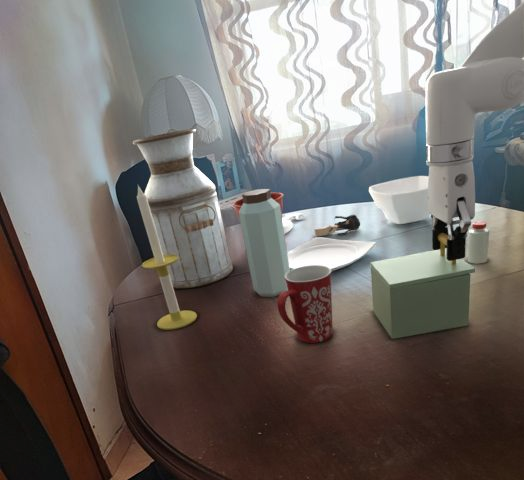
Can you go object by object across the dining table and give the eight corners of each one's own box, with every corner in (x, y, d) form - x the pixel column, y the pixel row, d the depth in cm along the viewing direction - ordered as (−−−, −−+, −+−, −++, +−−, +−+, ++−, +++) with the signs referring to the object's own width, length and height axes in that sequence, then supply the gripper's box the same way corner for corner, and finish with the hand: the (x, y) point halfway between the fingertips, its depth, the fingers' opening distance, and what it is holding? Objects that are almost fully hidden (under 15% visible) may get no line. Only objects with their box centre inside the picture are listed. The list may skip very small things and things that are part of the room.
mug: (315, 320, 100) (308, 261, 94) (346, 331, 94) (340, 268, 87) (271, 344, 94) (260, 283, 88) (301, 357, 88) (291, 292, 81)
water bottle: (293, 294, 115) (278, 192, 103) (254, 301, 116) (234, 200, 104) (291, 280, 124) (276, 184, 112) (254, 286, 125) (236, 191, 113)
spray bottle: (255, 238, 167) (282, 219, 186) (283, 237, 162) (308, 218, 181) (254, 230, 166) (281, 212, 184) (282, 228, 161) (307, 210, 179)
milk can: (247, 272, 136) (218, 125, 117) (180, 296, 128) (138, 142, 109) (214, 257, 155) (184, 128, 136) (154, 276, 148) (114, 143, 129)
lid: (445, 251, 94) (445, 226, 92) (475, 272, 83) (476, 244, 80) (370, 266, 95) (368, 241, 92) (390, 288, 83) (388, 261, 81)
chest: (440, 299, 99) (441, 253, 94) (468, 325, 88) (470, 274, 83) (373, 311, 100) (370, 266, 95) (392, 339, 88) (389, 289, 83)
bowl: (363, 221, 163) (361, 187, 157) (422, 207, 164) (422, 173, 159) (389, 235, 143) (388, 197, 138) (456, 220, 145) (457, 182, 140)
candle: (188, 307, 120) (153, 177, 104) (203, 319, 111) (166, 180, 96) (152, 321, 116) (110, 188, 101) (164, 334, 108) (120, 191, 93)
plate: (264, 270, 135) (262, 261, 134) (316, 243, 149) (315, 235, 148) (331, 281, 119) (330, 271, 118) (383, 250, 133) (382, 241, 131)
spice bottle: (484, 256, 116) (486, 219, 111) (489, 262, 112) (492, 224, 108) (465, 258, 117) (467, 222, 112) (470, 264, 113) (472, 226, 108)
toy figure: (318, 241, 151) (363, 230, 151) (315, 222, 149) (360, 211, 149) (315, 238, 158) (358, 228, 158) (311, 220, 156) (355, 209, 155)
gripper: (497, 153, 71) (490, 264, 80) (450, 144, 86) (448, 238, 95) (448, 162, 71) (447, 272, 80) (410, 151, 87) (412, 245, 95)
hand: (447, 252), depth 87 cm, fingers closed on lid, 6 cm apart
